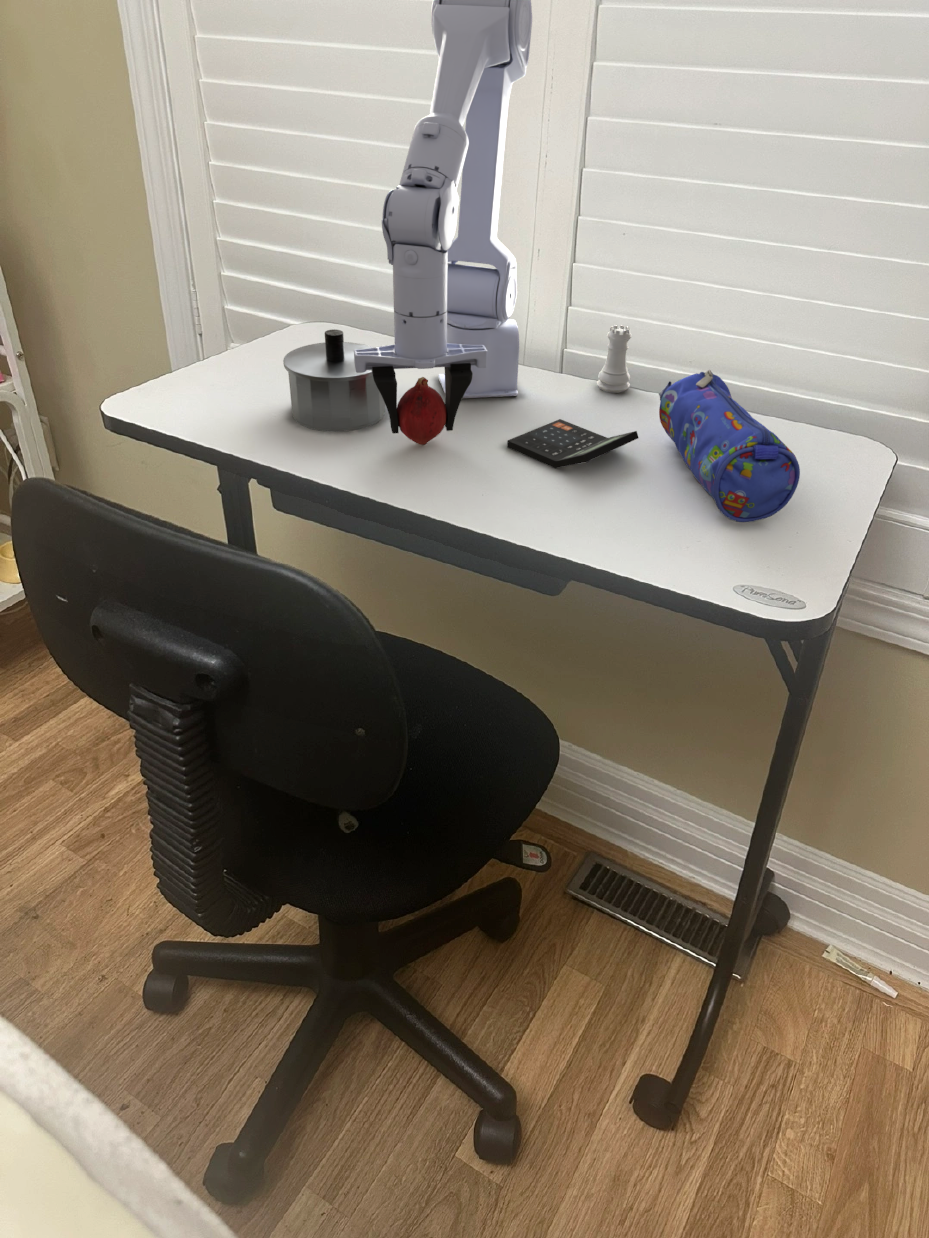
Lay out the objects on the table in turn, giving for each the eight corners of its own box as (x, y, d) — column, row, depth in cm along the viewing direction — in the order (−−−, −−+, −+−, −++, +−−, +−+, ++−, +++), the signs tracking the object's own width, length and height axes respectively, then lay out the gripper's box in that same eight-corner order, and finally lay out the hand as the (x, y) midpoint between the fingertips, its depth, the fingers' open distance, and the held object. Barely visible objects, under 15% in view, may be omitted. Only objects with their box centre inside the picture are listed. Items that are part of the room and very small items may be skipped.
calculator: (559, 425, 111) (561, 402, 109) (635, 456, 104) (639, 432, 102) (507, 447, 105) (508, 423, 103) (584, 481, 99) (587, 456, 97)
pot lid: (382, 348, 115) (381, 314, 112) (392, 384, 105) (391, 348, 102) (283, 352, 113) (280, 317, 110) (284, 388, 103) (280, 351, 101)
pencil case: (649, 439, 108) (661, 361, 102) (719, 437, 109) (734, 359, 103) (710, 530, 90) (728, 442, 85) (792, 527, 91) (816, 439, 85)
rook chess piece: (635, 385, 122) (643, 326, 117) (621, 396, 119) (629, 335, 114) (605, 378, 124) (611, 320, 119) (590, 388, 121) (597, 329, 116)
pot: (380, 394, 118) (378, 345, 114) (389, 429, 109) (387, 378, 105) (291, 397, 116) (287, 348, 112) (293, 434, 107) (288, 382, 103)
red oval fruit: (440, 457, 102) (440, 390, 98) (391, 452, 103) (389, 385, 99) (451, 437, 107) (452, 371, 103) (404, 432, 108) (403, 367, 103)
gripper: (355, 323, 92) (361, 446, 100) (494, 319, 94) (489, 439, 102) (350, 303, 98) (356, 421, 105) (481, 299, 100) (478, 415, 108)
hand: (421, 428), depth 104 cm, fingers closed on red oval fruit, 6 cm apart
